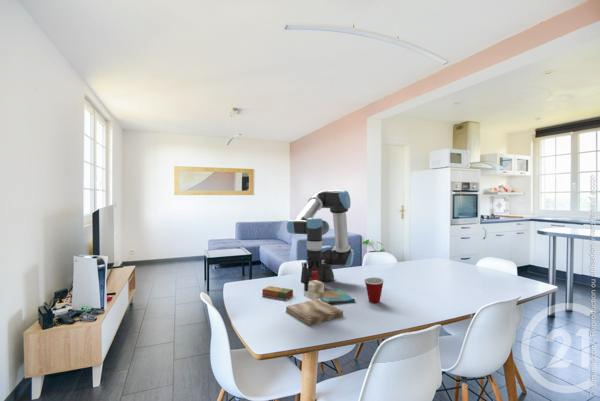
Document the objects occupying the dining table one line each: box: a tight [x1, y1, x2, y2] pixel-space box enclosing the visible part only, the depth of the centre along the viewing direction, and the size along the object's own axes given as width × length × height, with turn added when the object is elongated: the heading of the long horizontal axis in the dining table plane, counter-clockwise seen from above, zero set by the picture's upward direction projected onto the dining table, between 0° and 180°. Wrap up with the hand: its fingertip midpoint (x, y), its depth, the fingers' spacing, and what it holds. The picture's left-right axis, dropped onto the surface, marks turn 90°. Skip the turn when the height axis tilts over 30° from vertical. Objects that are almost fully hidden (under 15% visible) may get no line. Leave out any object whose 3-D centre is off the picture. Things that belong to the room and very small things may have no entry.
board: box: [285, 299, 344, 327], centre depth 144 cm, size 20×20×3 cm
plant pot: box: [307, 268, 326, 288], centre depth 187 cm, size 13×13×12 cm
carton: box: [261, 285, 294, 301], centre depth 170 cm, size 8×16×4 cm, turn 65°
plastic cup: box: [363, 277, 385, 304], centre depth 162 cm, size 11×11×12 cm
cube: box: [303, 280, 325, 301], centre depth 144 cm, size 7×7×7 cm
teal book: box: [319, 287, 356, 306], centre depth 169 cm, size 17×23×2 cm
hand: (314, 295), depth 144 cm, fingers closed on cube, 7 cm apart
